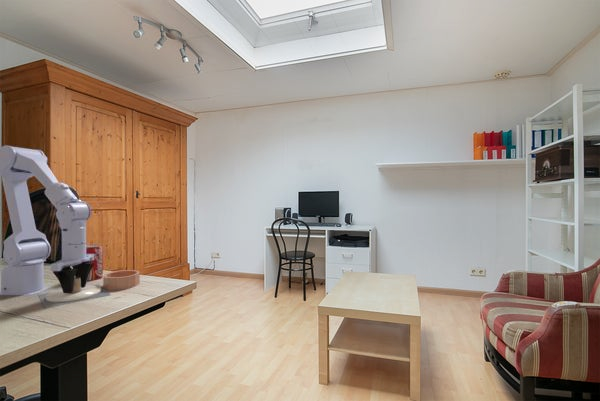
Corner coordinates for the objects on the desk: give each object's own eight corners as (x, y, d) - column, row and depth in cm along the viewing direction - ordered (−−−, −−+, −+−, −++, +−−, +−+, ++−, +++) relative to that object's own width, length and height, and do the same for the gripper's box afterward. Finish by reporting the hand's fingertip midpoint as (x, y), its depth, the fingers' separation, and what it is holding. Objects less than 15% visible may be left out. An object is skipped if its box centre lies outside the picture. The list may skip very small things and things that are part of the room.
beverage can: (92, 282, 104) (91, 247, 103) (76, 281, 105) (76, 246, 105) (107, 278, 110) (107, 244, 110) (92, 277, 111) (92, 244, 111)
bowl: (96, 291, 94) (96, 277, 94) (115, 282, 104) (115, 270, 104) (128, 291, 94) (128, 278, 94) (145, 282, 104) (145, 270, 104)
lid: (32, 302, 83) (32, 285, 83) (68, 288, 96) (68, 272, 96) (81, 302, 83) (81, 285, 83) (110, 287, 96) (110, 272, 96)
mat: (44, 310, 79) (44, 308, 79) (38, 296, 89) (38, 294, 89) (111, 296, 89) (111, 294, 89) (98, 286, 100) (98, 284, 100)
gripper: (69, 247, 82) (69, 298, 82) (103, 239, 96) (104, 282, 97) (42, 247, 82) (43, 298, 82) (81, 239, 96) (81, 282, 96)
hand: (74, 290), depth 89 cm, fingers open, 5 cm apart
